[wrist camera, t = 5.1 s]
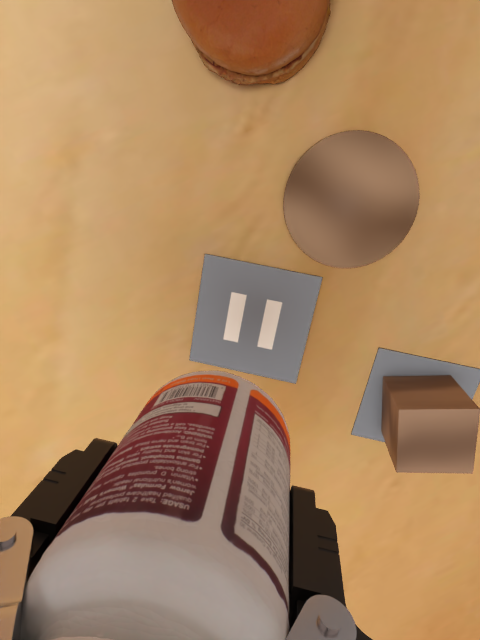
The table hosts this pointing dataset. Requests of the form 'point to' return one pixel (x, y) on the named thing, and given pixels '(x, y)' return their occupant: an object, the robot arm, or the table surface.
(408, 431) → the walnut block
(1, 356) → the table surface
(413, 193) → the coaster
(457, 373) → the code tile
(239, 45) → the burger
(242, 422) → the pill bottle
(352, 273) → the table surface
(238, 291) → the code tile
